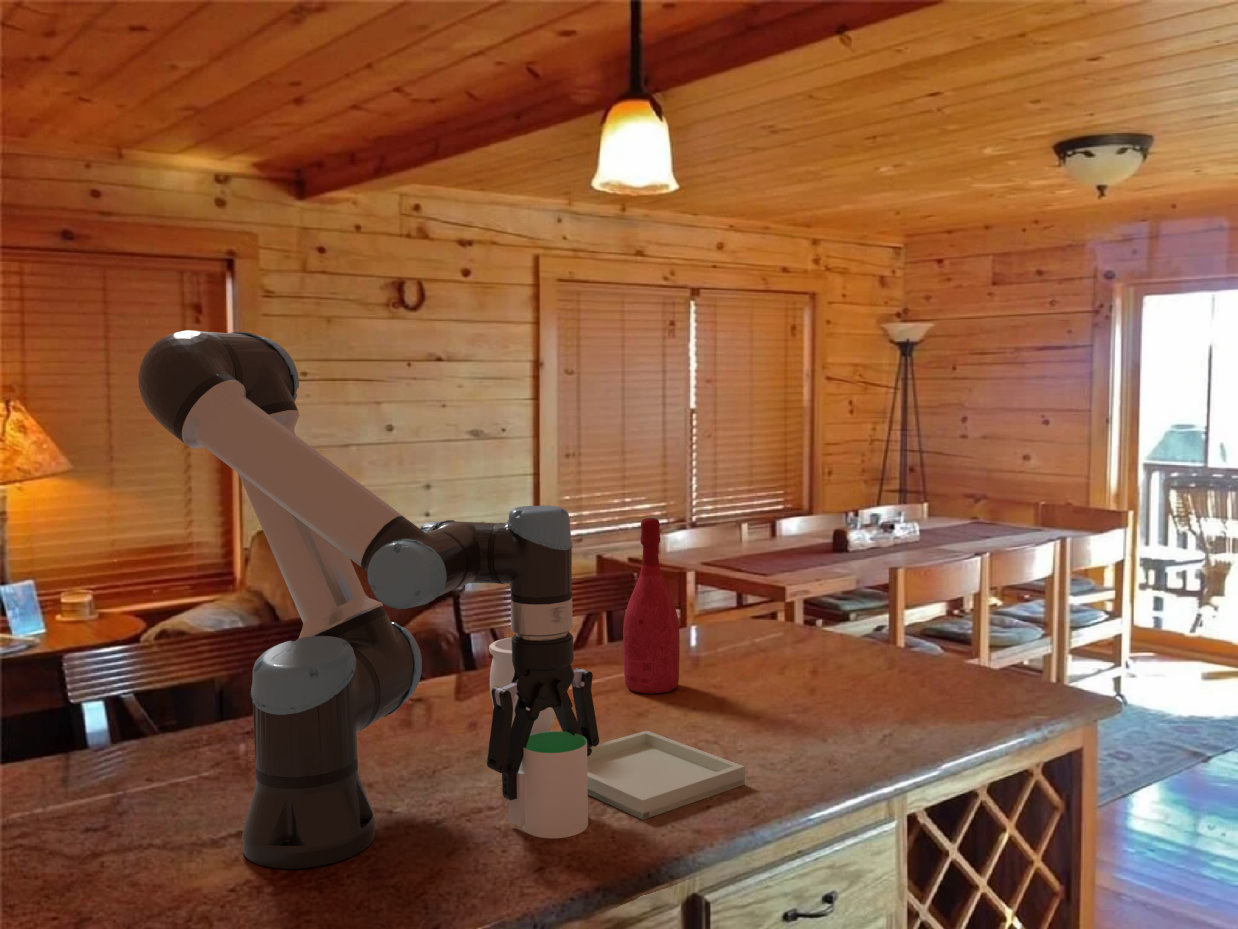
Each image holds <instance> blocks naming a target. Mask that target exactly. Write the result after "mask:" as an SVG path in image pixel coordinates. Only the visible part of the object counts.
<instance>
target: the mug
mask: <svg viewBox="0 0 1238 929" xmlns="http://www.w3.org/2000/svg"><path fill="white" fill-rule="evenodd" d="M550 731H551V732H542V733H536V734H533V735H530V737H529V740H528V743H527V746H526V748H525V747H523V748H524V756H523V759H522V762H521V765H520V768H519V771H521V772H523V773H524V774H525V826H523V827H521V828H522V829H523V830H522V831H524V832H525V833H526V834H528V835H530V836H533V837H537V838H541V839H563V838H569V837H574V836H576V835H578V834H581V833H583V832H584V831H585V830H586V829H588V827H589V805H588V804H589V795H588V779H587V739H586V738H585V737H584V736H582V735H579V734H575V735H574V736H573V735H572V734H571V733H569V732H563V731H562V730H561V731H559V730H557V731H554V730H550Z"/></svg>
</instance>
